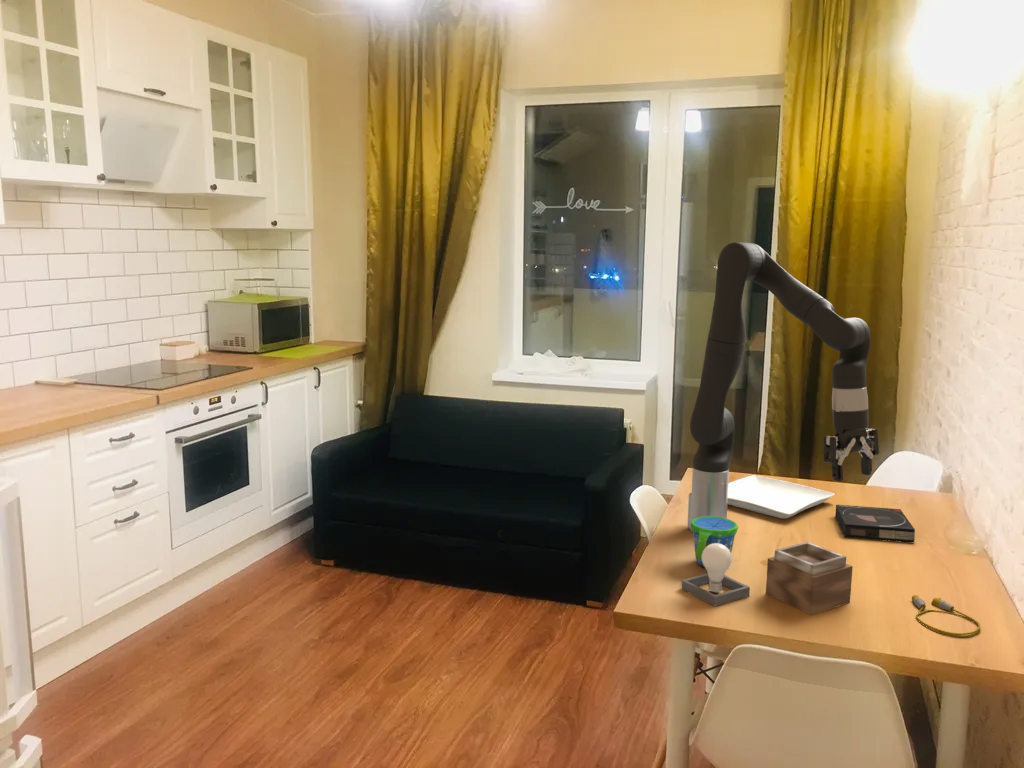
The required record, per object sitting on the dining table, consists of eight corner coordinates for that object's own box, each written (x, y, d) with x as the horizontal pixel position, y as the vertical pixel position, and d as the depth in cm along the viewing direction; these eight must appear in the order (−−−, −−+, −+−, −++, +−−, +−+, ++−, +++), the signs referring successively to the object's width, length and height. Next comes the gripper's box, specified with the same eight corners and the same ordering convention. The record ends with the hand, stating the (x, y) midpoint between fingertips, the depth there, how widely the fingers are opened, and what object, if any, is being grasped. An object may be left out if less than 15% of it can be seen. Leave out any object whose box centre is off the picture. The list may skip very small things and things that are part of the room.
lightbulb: (696, 586, 178) (698, 539, 176) (724, 585, 178) (726, 538, 177) (705, 599, 172) (707, 549, 170) (734, 598, 172) (737, 549, 170)
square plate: (752, 485, 256) (752, 473, 255) (835, 505, 236) (836, 492, 235) (702, 502, 238) (703, 490, 237) (788, 526, 218) (789, 512, 217)
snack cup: (707, 549, 200) (709, 510, 198) (748, 560, 193) (750, 519, 191) (675, 568, 188) (677, 526, 187) (717, 580, 181) (719, 536, 180)
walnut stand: (765, 593, 174) (768, 549, 173) (803, 582, 180) (806, 539, 179) (811, 615, 164) (814, 568, 163) (849, 602, 170) (853, 557, 169)
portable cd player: (844, 539, 208) (845, 525, 208) (835, 518, 225) (836, 504, 224) (914, 545, 204) (915, 530, 204) (899, 523, 221) (900, 509, 220)
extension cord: (976, 611, 167) (977, 602, 167) (983, 644, 153) (984, 634, 153) (911, 600, 172) (912, 591, 172) (911, 631, 158) (912, 621, 158)
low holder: (681, 588, 177) (681, 580, 176) (715, 579, 182) (715, 571, 181) (714, 606, 168) (715, 597, 168) (749, 595, 173) (749, 587, 173)
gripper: (860, 401, 188) (862, 470, 190) (813, 409, 182) (816, 479, 184) (886, 404, 181) (888, 475, 183) (839, 412, 175) (841, 485, 177)
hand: (852, 477), depth 183 cm, fingers open, 8 cm apart
